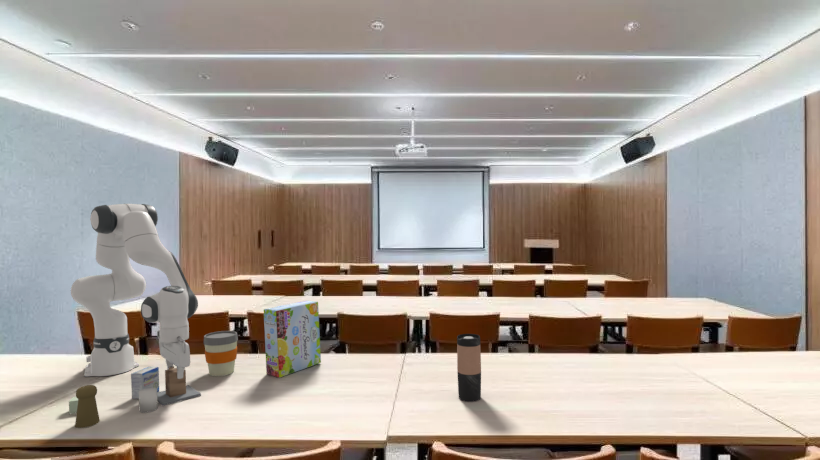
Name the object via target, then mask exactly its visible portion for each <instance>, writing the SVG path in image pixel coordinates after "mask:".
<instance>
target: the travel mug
mask: <svg viewBox="0 0 820 460" xmlns="http://www.w3.org/2000/svg"><path fill="white" fill-rule="evenodd" d="M456 345H457V347H456V352H457V353H456V358H457V360H456V362H457V364H456V365H457V372H456V373H457V385H458V386H457V389H458V399H459V400H461V401H463V402H468V403H469V402H471V403H473V402H477V401H480V400H481V397H482V356H481V355H482V353H481V350H482V349H481V336H480V335H479V334H475V333H462V334H458V335H457V337H456Z"/></svg>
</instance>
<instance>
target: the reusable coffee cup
mask: <svg viewBox="0 0 820 460" xmlns="http://www.w3.org/2000/svg"><path fill="white" fill-rule="evenodd" d="M238 341H239V337H238V332H236V331H235V330H234V331H233V330H221V331H219V330H218V331H214V332H209V333H206V334H205V335H203V345H204V348H205V349H204V357H205V362H206V363H207V367H208V375H209V376H210V377H224V376H229V375H231V374H233V373H235V365H236V364H235V363H236V360H237V355H238V346H237V345H238Z"/></svg>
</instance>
